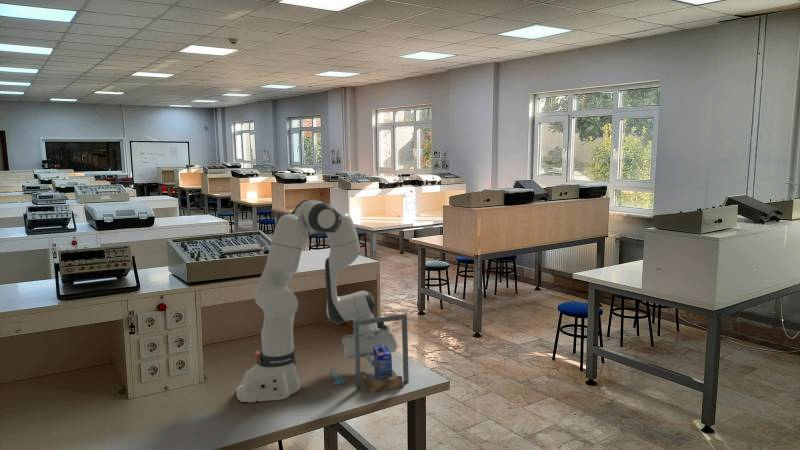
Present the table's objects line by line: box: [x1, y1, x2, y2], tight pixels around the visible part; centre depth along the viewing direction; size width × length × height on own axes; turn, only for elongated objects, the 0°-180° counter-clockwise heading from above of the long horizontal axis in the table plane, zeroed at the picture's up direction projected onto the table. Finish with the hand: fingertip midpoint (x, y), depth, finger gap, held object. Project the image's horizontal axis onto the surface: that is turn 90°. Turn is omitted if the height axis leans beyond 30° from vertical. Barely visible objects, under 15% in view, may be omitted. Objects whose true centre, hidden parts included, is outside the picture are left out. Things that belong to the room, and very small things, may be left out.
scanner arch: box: [352, 313, 410, 392], centre depth 199 cm, size 20×2×26 cm, turn 109°
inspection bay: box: [361, 369, 403, 395], centre depth 202 cm, size 12×14×4 cm
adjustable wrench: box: [328, 369, 347, 386], centre depth 209 cm, size 14×1×5 cm
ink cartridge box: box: [373, 343, 393, 380], centre depth 203 cm, size 10×6×14 cm, turn 13°
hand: (375, 365), depth 208 cm, fingers closed, pressing on ink cartridge box
